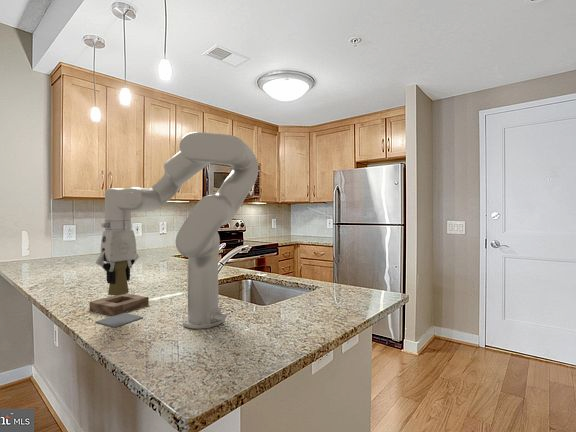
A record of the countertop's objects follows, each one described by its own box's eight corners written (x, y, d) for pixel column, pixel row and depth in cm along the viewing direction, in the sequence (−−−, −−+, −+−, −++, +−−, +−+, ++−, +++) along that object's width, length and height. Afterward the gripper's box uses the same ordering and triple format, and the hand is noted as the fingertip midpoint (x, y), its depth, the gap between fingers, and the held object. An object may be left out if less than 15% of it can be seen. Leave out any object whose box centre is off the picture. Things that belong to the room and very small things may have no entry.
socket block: (148, 305, 122) (148, 297, 122) (113, 315, 110) (113, 307, 110) (124, 300, 129) (124, 293, 129) (89, 310, 116) (89, 302, 116)
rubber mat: (143, 318, 107) (143, 316, 107) (115, 327, 99) (115, 326, 99) (123, 313, 112) (123, 312, 112) (95, 322, 103) (95, 321, 103)
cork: (110, 291, 107) (110, 258, 107) (130, 290, 109) (130, 257, 109) (105, 295, 101) (105, 261, 101) (127, 294, 103) (126, 260, 103)
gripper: (99, 227, 96) (100, 288, 96) (148, 225, 111) (148, 278, 111) (85, 227, 99) (85, 285, 99) (133, 224, 114) (134, 276, 114)
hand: (118, 281), depth 105 cm, fingers closed on cork, 4 cm apart
